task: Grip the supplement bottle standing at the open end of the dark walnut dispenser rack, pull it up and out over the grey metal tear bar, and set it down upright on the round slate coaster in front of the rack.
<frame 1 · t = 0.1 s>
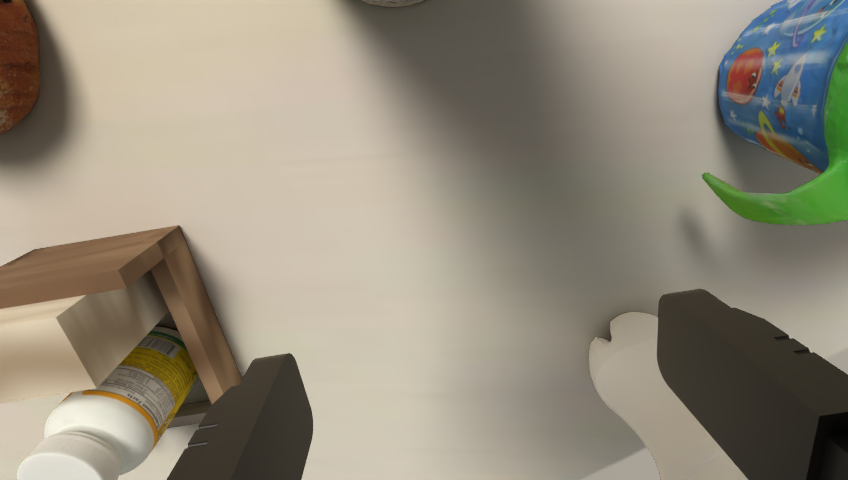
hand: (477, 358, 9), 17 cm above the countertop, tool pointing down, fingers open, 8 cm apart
snack cup: (774, 72, 24), on the countertop
supplement bottle: (166, 355, 30), resting in rack
rack: (152, 333, 29), on the countertop
water bottle: (626, 341, 31), on the countertop
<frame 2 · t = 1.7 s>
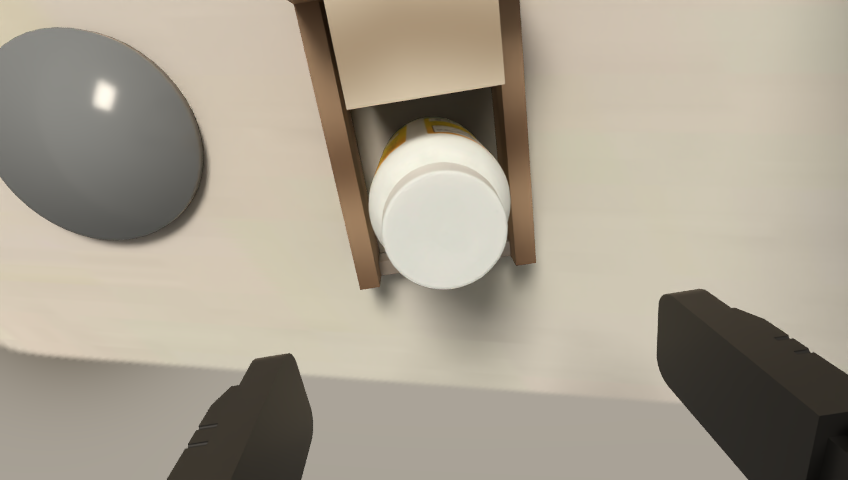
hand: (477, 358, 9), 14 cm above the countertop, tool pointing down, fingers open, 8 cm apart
coaster: (98, 141, 21), on the countertop
supplement bottle: (430, 168, 23), resting in rack
rack: (425, 130, 22), on the countertop
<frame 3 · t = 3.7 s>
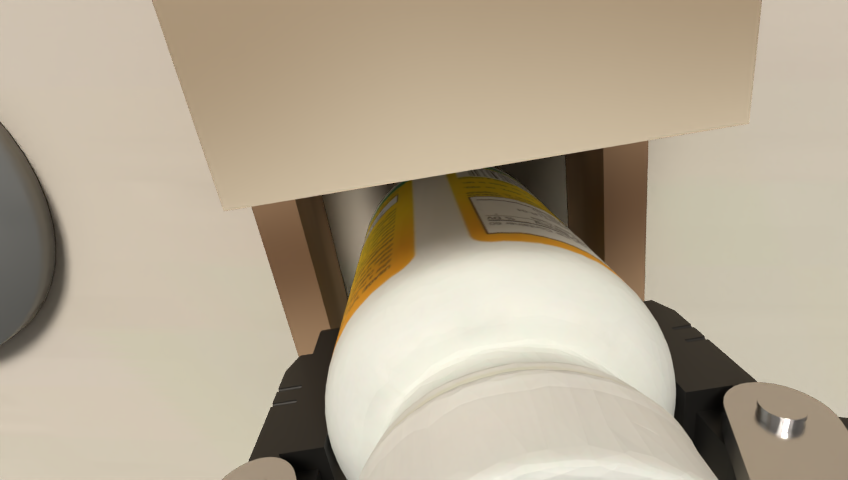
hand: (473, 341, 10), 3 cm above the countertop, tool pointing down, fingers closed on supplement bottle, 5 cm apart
supplement bottle: (452, 244, 13), resting in rack, touching gripper
rack: (443, 182, 12), on the countertop
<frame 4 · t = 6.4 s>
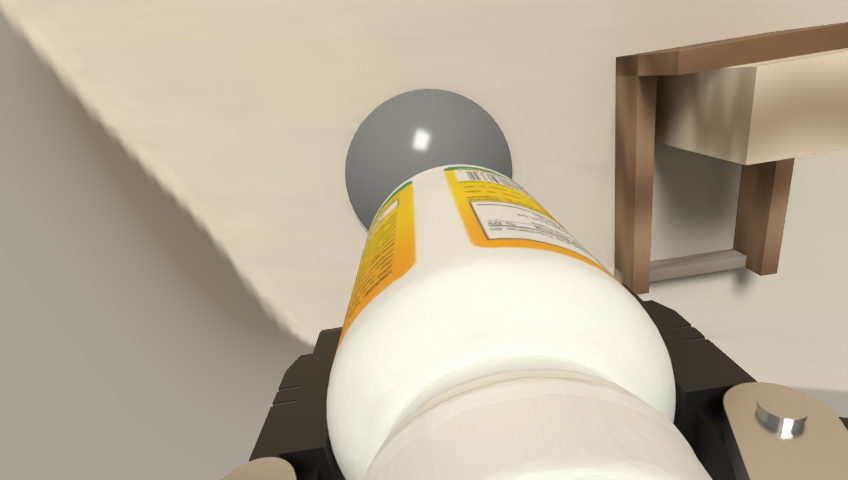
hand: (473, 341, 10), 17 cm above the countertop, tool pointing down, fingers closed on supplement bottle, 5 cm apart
coaster: (428, 175, 26), on the countertop
supplement bottle: (453, 247, 13), point 14 cm above the countertop, touching gripper
rack: (687, 166, 27), on the countertop
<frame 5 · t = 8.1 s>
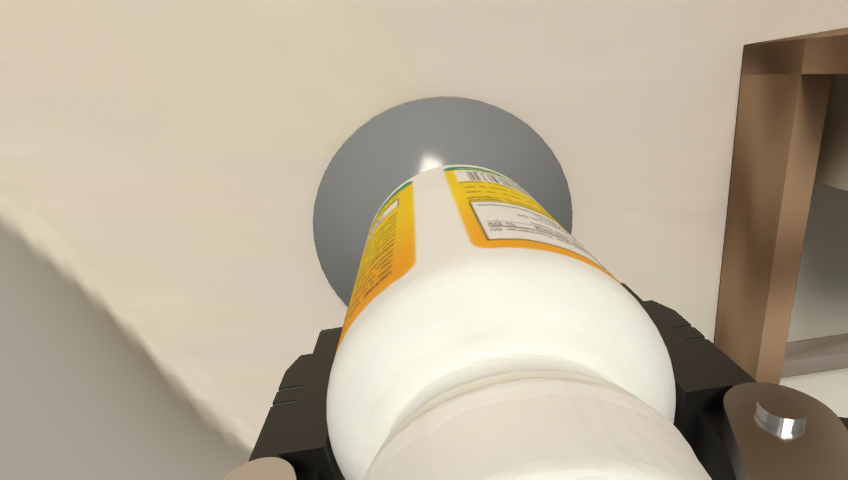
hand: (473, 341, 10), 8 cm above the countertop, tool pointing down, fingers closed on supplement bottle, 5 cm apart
coaster: (442, 228, 17), on the countertop
supplement bottle: (453, 247, 13), point 4 cm above the countertop, touching gripper
rack: (835, 211, 18), on the countertop
when the fingers open (5 cm above the countertop, at t = 9.6 s): supplement bottle stays where it is, resting on coaster.
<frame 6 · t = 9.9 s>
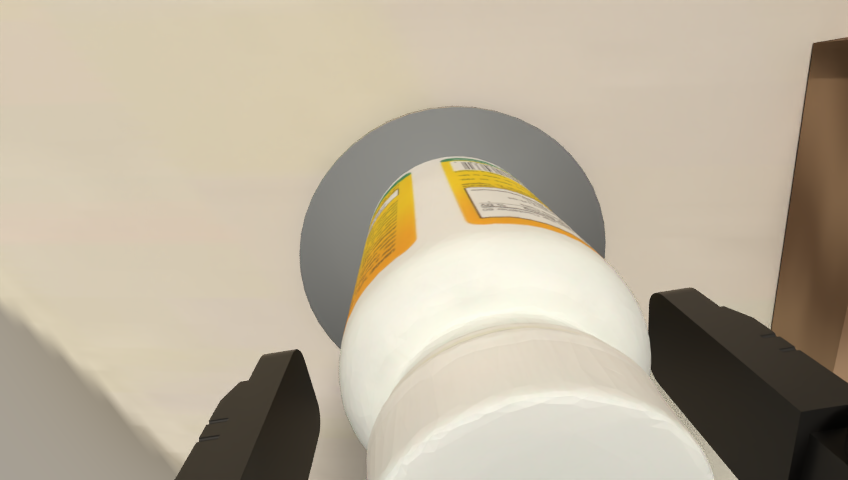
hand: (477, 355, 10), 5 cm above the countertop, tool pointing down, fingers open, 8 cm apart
coaster: (452, 259, 15), on the countertop
supplement bottle: (450, 235, 14), resting on coaster
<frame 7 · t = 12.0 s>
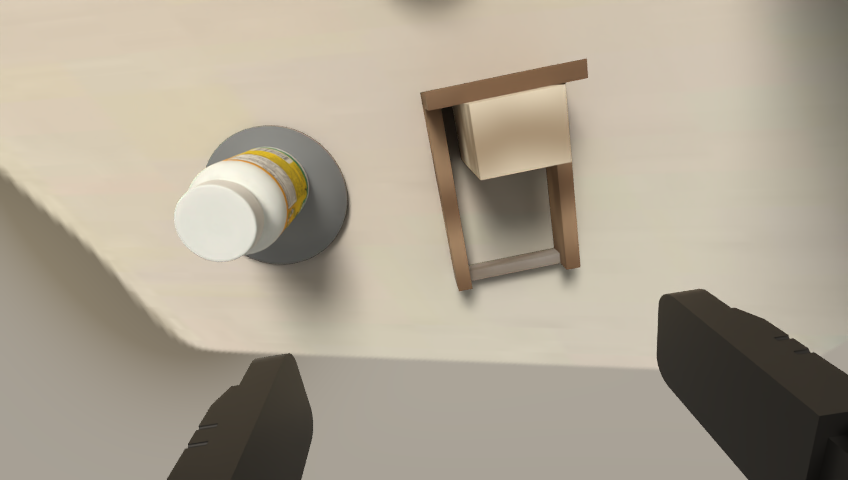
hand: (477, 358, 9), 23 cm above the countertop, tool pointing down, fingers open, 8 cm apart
coaster: (277, 196, 31), on the countertop
supplement bottle: (272, 184, 30), resting on coaster
rack: (499, 179, 31), on the countertop
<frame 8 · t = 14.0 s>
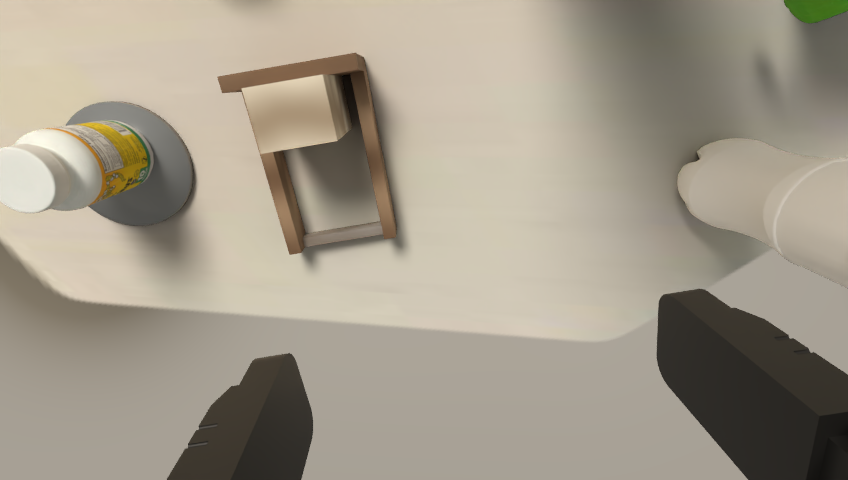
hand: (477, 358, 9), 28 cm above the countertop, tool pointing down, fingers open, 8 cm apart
coaster: (130, 165, 35), on the countertop
supplement bottle: (122, 153, 34), resting on coaster
rack: (327, 157, 36), on the countertop
water bottle: (706, 175, 38), on the countertop
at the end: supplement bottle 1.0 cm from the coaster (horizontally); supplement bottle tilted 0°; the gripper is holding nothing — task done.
